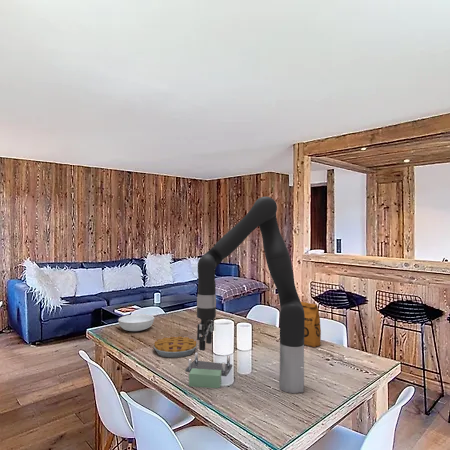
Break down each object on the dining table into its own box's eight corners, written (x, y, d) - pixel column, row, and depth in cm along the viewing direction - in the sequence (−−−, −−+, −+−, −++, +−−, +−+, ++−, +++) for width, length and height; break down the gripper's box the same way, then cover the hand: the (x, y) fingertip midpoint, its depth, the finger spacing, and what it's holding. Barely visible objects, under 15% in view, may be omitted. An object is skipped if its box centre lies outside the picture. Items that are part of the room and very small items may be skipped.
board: (221, 382, 142) (221, 370, 142) (219, 388, 136) (219, 375, 136) (191, 380, 143) (192, 368, 143) (188, 386, 138) (189, 373, 138)
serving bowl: (138, 322, 229) (138, 312, 229) (161, 328, 216) (161, 317, 216) (110, 330, 212) (111, 318, 212) (134, 336, 199) (134, 324, 199)
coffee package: (313, 349, 182) (314, 306, 182) (293, 343, 191) (293, 302, 191) (323, 345, 189) (324, 303, 189) (304, 339, 198) (304, 299, 198)
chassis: (232, 366, 158) (232, 355, 158) (226, 376, 148) (226, 364, 148) (194, 362, 163) (194, 351, 163) (185, 371, 152) (185, 360, 152)
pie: (153, 360, 165) (153, 349, 165) (153, 345, 186) (153, 335, 186) (200, 357, 169) (200, 347, 169) (194, 343, 190) (194, 333, 190)
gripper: (210, 310, 132) (209, 353, 132) (220, 302, 146) (219, 342, 146) (191, 308, 134) (190, 351, 134) (203, 301, 148) (202, 340, 148)
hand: (205, 346), depth 140 cm, fingers open, 8 cm apart
